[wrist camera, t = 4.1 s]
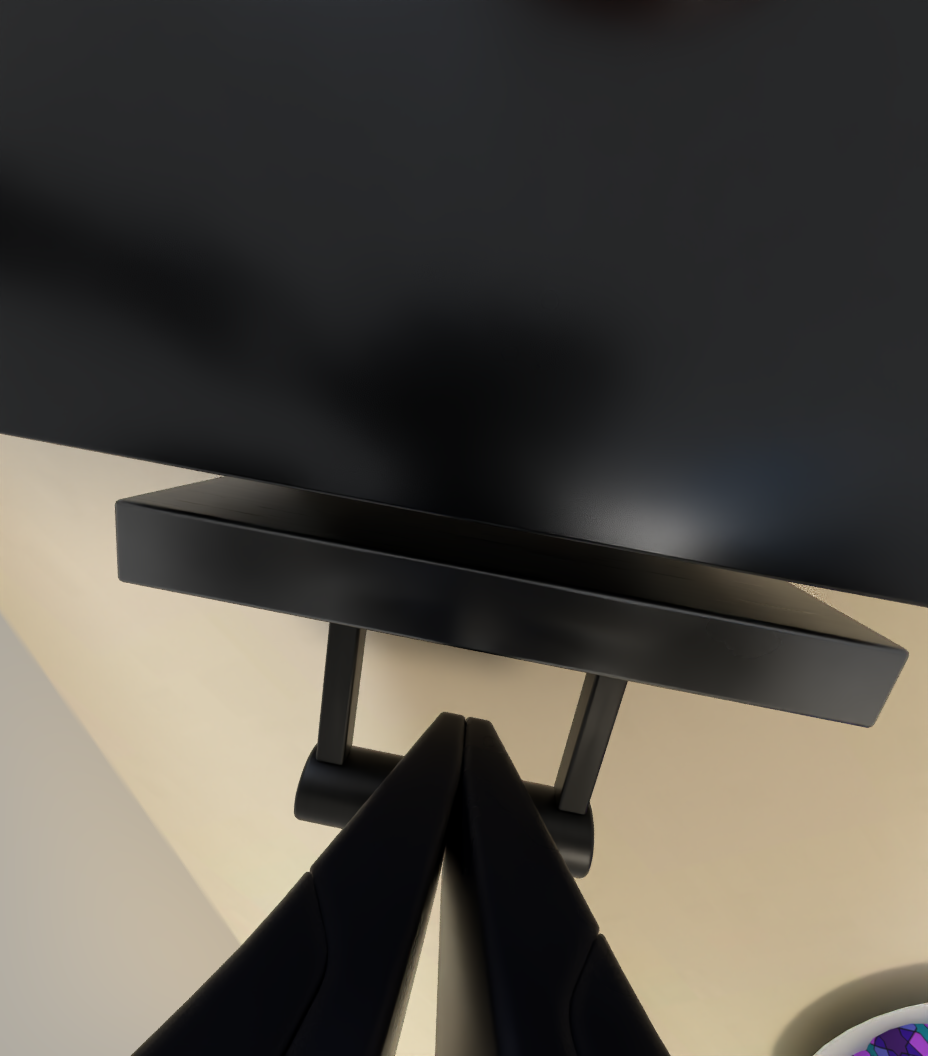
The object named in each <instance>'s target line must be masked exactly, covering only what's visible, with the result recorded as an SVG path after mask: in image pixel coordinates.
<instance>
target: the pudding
mask: <svg viewBox="0 0 928 1056" xmlns="http://www.w3.org/2000/svg"><path fill="white" fill-rule="evenodd" d="M813 1056H928V1003H923V1004H918V1005H913V1006H909V1007H904V1008H900V1009H897V1010H894V1011H891V1012H888V1013H885V1014H882V1015H879V1016H876V1017H874V1018H872V1019H869V1020H867V1021H865V1022H863V1023H861V1024H859V1025H857V1026H855V1027H853V1028H850V1029H848V1030H847V1031H845V1032H844V1033H842V1034H841V1035H839V1036H838V1037H836V1038H835V1039H833V1040H831V1041H830V1042H828V1043H827V1044H825V1045H824V1046H823V1047H822V1048H821V1049H820V1050H819V1051H818V1052H817V1053H816V1054H814V1055H813Z"/></svg>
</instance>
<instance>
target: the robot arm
mask: <svg viewBox="0 0 928 1056" xmlns="http://www.w3.org/2000/svg"><path fill="white" fill-rule="evenodd" d="M443 858H444V859H443ZM442 862H443V868H442V882H441V904H440V933H439V961H438V989H437V1017H436V1046H435V1056H670V1054H669V1052H668V1051H667V1049H666V1047H665V1046H664V1044H663V1042H662V1041H661V1039H660V1037H659V1036H658V1034H657V1032H656V1030H655V1029H654V1027H653V1025H652V1023H651V1021H650V1020H649V1018H648V1016H647V1014H646V1012H645V1011H644V1009H643V1007H642V1005H641V1003H640V1002H639V1000H638V998H637V996H636V994H635V993H634V991H633V989H632V987H631V985H630V984H629V982H628V980H627V978H626V976H625V975H624V973H623V971H622V969H621V967H620V965H619V963H618V961H617V960H616V958H615V956H614V954H613V952H612V950H611V948H610V946H609V944H608V942H607V940H606V938H605V937H604V935H603V934H598V933H599V926H598V924H597V922H596V920H595V918H594V916H593V914H592V913H591V911H590V909H589V907H588V905H587V903H586V901H585V899H584V897H583V895H582V894H581V892H580V890H579V888H578V886H577V884H576V882H575V880H574V878H573V877H572V875H571V873H570V871H569V869H568V867H567V865H566V863H565V861H564V859H563V858H562V856H561V854H560V852H559V850H558V848H557V846H556V844H555V842H554V841H553V839H552V837H551V835H550V833H549V831H548V829H547V827H546V825H545V823H544V822H543V820H542V818H541V816H540V814H539V812H538V810H537V808H536V806H535V805H534V803H533V801H532V799H531V797H530V795H529V793H528V791H527V789H526V787H525V786H524V784H523V782H522V780H521V778H520V776H519V774H518V772H517V770H516V769H515V767H514V765H513V763H512V761H511V759H510V757H509V755H508V753H507V751H506V750H505V748H504V746H503V744H502V742H501V740H500V738H499V736H498V734H497V733H496V731H495V729H494V727H493V725H492V723H491V722H490V721H488V720H483V719H478V718H473V717H468V718H467V719H466V720H465V717H464V716H462V715H458V714H453V713H448V712H442V713H441V714H440V715H439V716H438V717H437V718H436V719H435V721H434V722H433V723H432V724H431V725H430V727H429V728H428V729H427V730H426V731H425V732H424V734H423V735H422V736H421V737H420V738H419V740H418V741H417V742H416V743H415V744H414V745H413V747H412V748H411V749H410V750H409V751H408V753H407V754H406V755H405V756H404V757H403V758H402V760H401V761H400V762H399V763H398V764H397V766H396V767H395V768H394V769H393V770H392V771H391V773H390V774H389V775H388V776H387V777H386V779H385V780H384V781H383V782H382V783H381V784H380V786H379V787H378V788H377V789H376V790H375V792H374V793H373V794H372V795H371V796H370V797H369V799H368V800H367V801H366V802H365V803H364V805H363V806H362V807H361V808H360V809H359V810H358V812H357V813H356V814H355V815H354V816H353V817H352V819H351V820H350V821H349V822H348V823H347V825H346V826H345V827H344V828H343V829H342V830H341V832H340V833H339V834H338V835H337V836H336V838H335V839H334V840H333V841H332V842H331V843H330V845H329V846H328V847H327V848H326V849H325V851H324V852H323V853H322V854H321V855H320V856H319V858H318V859H317V860H316V861H315V862H314V864H313V865H312V866H311V868H310V872H306V873H305V874H304V875H303V876H302V877H301V878H300V880H299V881H298V882H297V883H296V884H295V886H294V887H293V888H292V889H291V890H290V891H289V893H288V894H287V895H286V896H285V897H284V899H283V900H282V901H281V902H280V903H279V904H278V905H277V906H276V908H275V909H274V910H273V911H272V912H271V913H270V914H269V915H268V917H267V918H266V919H265V920H264V921H263V922H262V923H261V924H260V925H259V927H258V928H257V929H256V930H255V931H254V932H253V933H252V934H251V936H250V937H249V938H248V939H247V940H246V941H245V942H244V943H243V944H242V945H241V947H240V948H239V949H238V950H237V951H236V952H235V953H234V954H233V955H232V956H231V957H230V958H229V959H228V960H227V961H226V962H225V963H224V964H223V965H222V966H221V967H220V968H219V969H218V970H217V971H216V972H215V973H214V974H213V975H212V976H211V977H210V978H209V979H208V980H207V981H206V982H205V983H204V984H203V985H202V986H201V987H200V988H199V989H198V990H197V991H196V992H195V993H194V994H193V995H192V996H191V998H189V1000H187V1001H186V1002H185V1003H184V1004H183V1006H181V1007H180V1008H179V1009H178V1010H177V1011H176V1012H175V1013H174V1014H173V1015H172V1016H171V1017H170V1018H169V1019H168V1020H167V1021H166V1022H165V1023H164V1024H163V1025H162V1026H161V1027H160V1028H159V1029H158V1030H157V1031H156V1032H155V1033H154V1034H153V1035H152V1036H151V1037H150V1038H148V1039H147V1040H146V1042H144V1043H143V1044H142V1045H141V1046H140V1047H139V1048H138V1049H137V1050H136V1051H135V1052H134V1053H133V1054H132V1055H131V1056H395V1054H396V1050H397V1046H398V1042H399V1038H400V1034H401V1030H402V1026H403V1022H404V1018H405V1014H406V1010H407V1006H408V1002H409V998H410V994H411V990H412V986H413V982H414V978H415V974H416V970H417V966H418V962H419V958H420V954H421V950H422V946H423V942H424V938H425V934H426V930H427V926H428V922H429V918H430V914H431V910H432V906H433V902H434V898H435V894H436V890H437V885H438V881H439V876H440V872H441V867H442Z"/></svg>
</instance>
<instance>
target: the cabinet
mask: <svg viewBox="0 0 928 1056" xmlns="http://www.w3.org/2000/svg"><path fill="white" fill-rule="evenodd" d="M0 434H4V435H10V436H15V437H20V438H26V439H31V440H36V441H42V442H47V443H52V444H58V445H63V446H68V447H74V448H79V449H84V450H90V451H95V452H100V453H106V454H111V455H116V456H122V457H127V458H132V459H138V460H143V461H148V462H154V463H159V464H164V465H170V466H175V467H180V468H186V469H191V470H196V471H202V472H207V473H212V474H218V475H223V476H228V477H234V478H239V479H244V480H249V481H255V482H260V483H265V484H271V485H276V486H281V487H287V488H292V489H297V490H303V491H308V492H313V493H319V494H324V495H329V496H335V497H340V498H345V499H351V500H356V501H361V502H367V503H372V504H377V505H383V506H388V507H393V508H399V509H404V510H409V511H415V512H420V513H425V514H431V515H436V516H441V517H447V518H452V519H457V520H463V521H468V522H473V523H479V524H484V525H489V526H495V527H500V528H505V529H511V530H516V531H521V532H527V533H532V534H537V535H543V536H548V537H553V538H559V539H564V540H569V541H575V542H580V543H585V544H591V545H596V546H601V547H607V548H612V549H617V550H622V551H628V552H633V553H638V554H644V555H649V556H654V557H660V558H665V559H670V560H676V561H681V562H686V563H692V564H697V565H702V566H708V567H713V568H718V569H724V570H729V571H734V572H740V573H745V574H750V575H756V576H761V577H766V578H772V579H777V580H782V581H788V582H793V583H798V584H804V585H809V586H814V587H820V588H825V589H830V590H836V591H841V592H846V593H852V594H857V595H862V596H868V597H873V598H878V599H884V600H889V601H894V602H900V603H905V604H910V605H916V606H921V607H926V608H928V0H0Z"/></svg>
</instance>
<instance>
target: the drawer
mask: <svg viewBox="0 0 928 1056" xmlns="http://www.w3.org/2000/svg"><path fill="white" fill-rule="evenodd" d="M115 518H116V541H117V564H118V578H119V580H120V581H122V582H126V583H131V584H136V585H142V586H147V587H152V588H157V589H162V590H167V591H172V592H177V593H182V594H188V595H193V596H198V597H203V598H208V599H213V600H218V601H223V602H228V603H233V604H239V605H244V606H249V607H254V608H259V609H264V610H269V611H274V612H279V613H285V614H290V615H295V616H300V617H305V618H310V619H315V620H320V621H325V622H330V624H329V634H328V644H327V654H326V664H325V673H324V683H323V693H322V703H321V713H320V723H319V733H318V743H317V744H316V745H315V747H314V748H313V750H312V751H311V753H310V755H309V757H308V759H307V761H306V764H305V766H304V769H303V772H302V774H301V777H300V781H299V784H298V788H297V792H296V797H295V804H294V815H295V817H296V818H297V819H299V820H303V821H308V822H312V823H317V824H322V825H327V826H332V827H336V828H341V829H343V828H344V827H345V826H346V825H347V823H348V822H349V821H350V820H351V819H352V817H353V816H354V815H355V814H356V813H357V812H358V810H359V809H360V808H361V807H362V806H363V805H364V803H365V802H366V801H367V800H368V799H369V797H370V796H371V795H372V794H373V793H374V792H375V790H376V789H377V788H378V787H379V786H380V784H381V783H382V782H383V781H384V780H385V779H386V777H387V776H388V775H389V774H390V773H391V771H392V770H393V769H394V768H395V767H396V766H397V764H398V763H399V762H400V761H401V760H402V758H403V757H404V756H401V755H396V754H391V753H386V752H381V751H376V750H371V749H366V748H361V747H356V746H352V741H353V733H354V726H355V718H356V710H357V702H358V694H359V686H360V678H361V670H362V662H363V654H364V646H365V638H366V630H371V631H376V632H381V633H387V634H392V635H397V636H402V637H407V638H412V639H417V640H422V641H427V642H433V643H438V644H443V645H448V646H453V647H458V648H463V649H468V650H473V651H478V652H484V653H489V654H494V655H499V656H504V657H509V658H514V659H519V660H524V661H530V662H535V663H540V664H545V665H550V666H555V667H560V668H565V669H570V670H575V671H581V672H586V677H585V680H584V684H583V687H582V691H581V694H580V698H579V701H578V705H577V708H576V712H575V715H574V719H573V722H572V726H571V729H570V733H569V736H568V740H567V743H566V747H565V750H564V754H563V757H562V761H561V764H560V767H559V771H558V774H557V778H556V781H555V785H554V787H553V786H548V785H543V784H538V783H533V782H528V781H523V780H522V782H523V784H524V786H525V787H526V789H527V791H528V793H529V795H530V797H531V799H532V801H533V803H534V805H535V806H536V808H537V810H538V812H539V814H540V816H541V818H542V820H543V822H544V823H545V825H546V827H547V829H548V831H549V833H550V835H551V837H552V839H553V841H554V842H555V844H556V846H557V848H558V850H559V852H560V854H561V856H562V858H563V859H564V861H565V863H566V865H567V867H568V869H569V871H570V873H571V875H572V877H575V878H583V877H585V876H586V875H587V874H588V872H589V869H590V866H591V862H592V857H593V849H594V822H593V815H592V809H591V805H590V798H591V795H592V792H593V789H594V786H595V783H596V780H597V776H598V773H599V770H600V767H601V764H602V761H603V757H604V754H605V751H606V748H607V745H608V742H609V739H610V735H611V732H612V729H613V726H614V723H615V720H616V716H617V713H618V710H619V707H620V704H621V701H622V698H623V694H624V691H625V688H626V685H627V682H628V681H632V682H637V683H642V684H647V685H652V686H657V687H662V688H667V689H672V690H678V691H683V692H688V693H693V694H698V695H703V696H708V697H713V698H718V699H724V700H729V701H734V702H739V703H744V704H749V705H754V706H759V707H764V708H769V709H775V710H780V711H785V712H790V713H795V714H800V715H805V716H810V717H815V718H821V719H826V720H831V721H836V722H841V723H846V724H851V725H856V726H861V727H866V728H869V727H872V726H873V725H874V724H875V722H876V720H877V718H878V716H879V714H880V712H881V710H882V708H883V706H884V704H885V702H886V700H887V698H888V696H889V694H890V692H891V690H892V688H893V686H894V684H895V683H896V681H897V679H898V677H899V675H900V673H901V671H902V669H903V667H904V665H905V663H906V661H907V659H908V657H909V652H908V651H907V650H906V649H904V648H903V647H901V646H900V645H898V644H896V643H894V642H892V641H891V640H889V639H887V638H885V637H884V636H882V635H880V634H878V633H877V632H875V631H873V630H871V629H870V628H868V627H866V626H864V625H863V624H861V623H859V622H857V621H856V620H854V619H852V618H850V617H848V616H847V615H845V614H843V613H841V612H840V611H838V610H836V609H834V608H833V607H831V606H829V605H827V604H826V603H824V602H822V601H820V600H819V599H817V598H815V597H813V596H811V595H810V594H808V593H806V592H804V591H803V590H801V589H799V588H797V587H796V586H794V585H792V584H790V583H789V582H787V581H782V580H777V579H772V578H766V577H761V576H756V575H750V574H745V573H740V572H734V571H729V570H724V569H718V568H713V567H708V566H702V565H697V564H692V563H686V562H681V561H676V560H670V559H665V558H660V557H654V556H649V555H644V554H638V553H633V552H628V551H622V550H617V549H612V548H607V547H601V546H596V545H591V544H585V543H580V542H575V541H569V540H564V539H559V538H553V537H548V536H543V535H537V534H532V533H527V532H521V531H516V530H511V529H505V528H500V527H495V526H489V525H484V524H479V523H473V522H468V521H463V520H457V519H452V518H447V517H441V516H436V515H431V514H425V513H420V512H415V511H409V510H404V509H399V508H393V507H388V506H383V505H377V504H372V503H367V502H361V501H356V500H351V499H345V498H340V497H335V496H329V495H324V494H319V493H313V492H308V491H303V490H297V489H292V488H287V487H281V486H276V485H271V484H265V483H260V482H255V481H249V480H244V479H239V478H234V477H228V476H224V477H220V478H215V479H210V480H206V481H201V482H197V483H192V484H188V485H183V486H179V487H174V488H169V489H165V490H160V491H156V492H151V493H147V494H142V495H138V496H133V497H128V498H124V499H119V500H117V501H116V503H115Z"/></svg>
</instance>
